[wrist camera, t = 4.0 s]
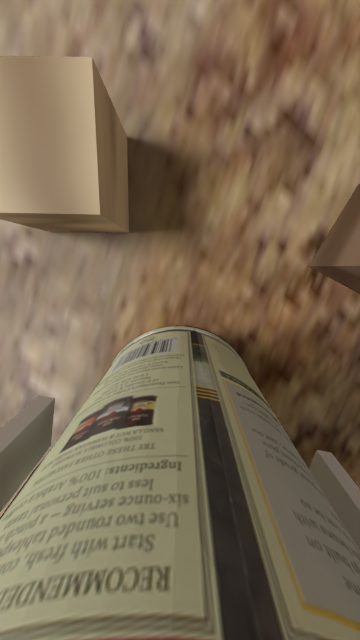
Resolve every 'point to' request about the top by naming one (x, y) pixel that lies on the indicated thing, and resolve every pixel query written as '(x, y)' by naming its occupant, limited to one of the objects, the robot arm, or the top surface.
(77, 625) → the coffee can
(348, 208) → the walnut cube
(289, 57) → the top surface
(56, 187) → the oak cube
